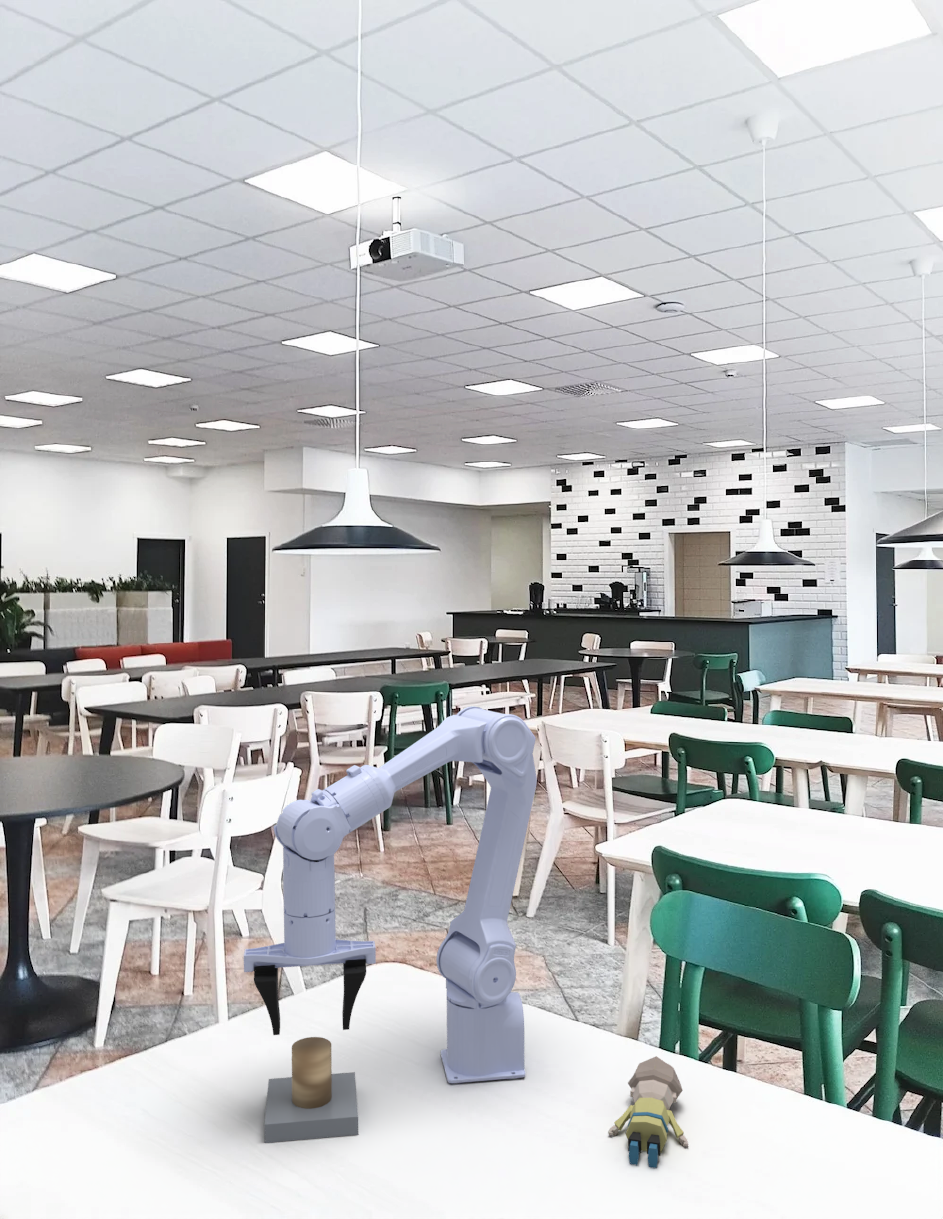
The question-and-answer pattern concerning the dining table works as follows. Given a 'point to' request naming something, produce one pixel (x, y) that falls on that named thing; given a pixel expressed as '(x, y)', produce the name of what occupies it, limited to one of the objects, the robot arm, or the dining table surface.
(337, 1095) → the plate
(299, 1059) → the oak cylinder
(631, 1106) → the toy
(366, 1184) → the dining table surface
